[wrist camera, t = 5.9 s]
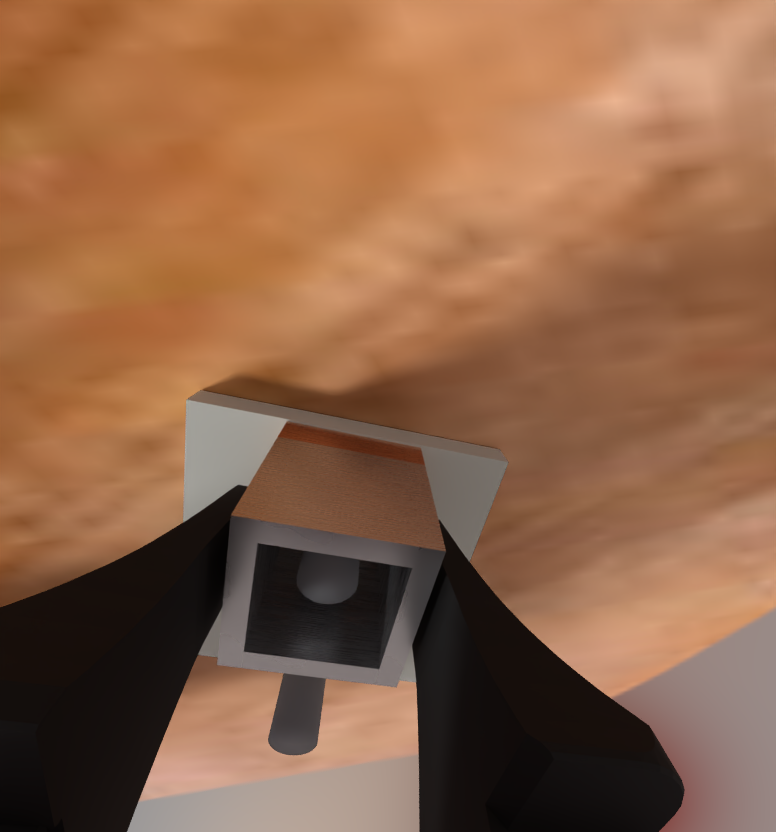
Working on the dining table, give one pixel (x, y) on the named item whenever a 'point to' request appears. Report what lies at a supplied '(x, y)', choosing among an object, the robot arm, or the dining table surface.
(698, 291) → the dining table surface
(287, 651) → the sleeve
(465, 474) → the pin board
